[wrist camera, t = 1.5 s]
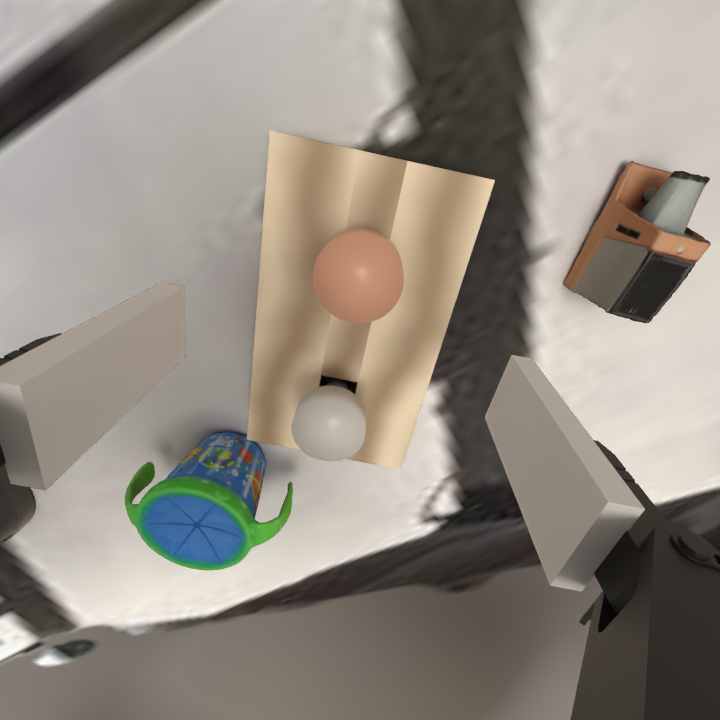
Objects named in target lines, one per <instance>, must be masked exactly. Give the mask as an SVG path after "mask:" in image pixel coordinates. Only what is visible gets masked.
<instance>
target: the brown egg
mask: <svg viewBox="0 0 720 720" xmlns="http://www.w3.org/2000/svg"><path fill="white" fill-rule="evenodd" d="M403 285H404V273H403V267H402V262H401V258H400V255H399V253H398V251H397V249H396V247H395V246H394V244H393V243H392V242H391V241H390V240H389V239H388V238H387V237H385V236H384V235H383V234H381V233H379V232H377V231H375V230H371V229H367V228H352V229H348V230H345V231H343V232H340V233H339V234H337V235H335V236H334V237H333V238H332V239H331V240H330V241H329V242H328V243H327V244H326V246H325V247H324V248H323V250H322V251H321V252H320V254H319V256H318V257H317V259H316V262H315V265H314V269H313V286H314V290H315V293H316V296H317V298H318V300H319V301H320V303H321V304H322V306H323V307H324V308H325V309H326V310H327V311H328V312H329V313H330V314H332V315H333V316H335V317H336V318H338V319H340V320H343V321H346V322H350V323H368V322H372V321H375V320H378V319H380V318H382V317H383V316H385V315H386V314H388V313H389V312H390V311H391V310H392V309H393V308H394V306H395V305H396V304H397V302H398V300H399V298H400V296H401V293H402V290H403Z"/></svg>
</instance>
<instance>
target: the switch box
mask: <svg viewBox="0 0 720 720" xmlns="http://www.w3.org/2000/svg"><path fill="white" fill-rule="evenodd" d="M494 182H495V180H491V179H487V178H482V177H478V176H473V175H469V174H464V173H460V172H455V171H451V170H446V169H442V168H437V167H433V166H428V165H424V164H419V163H414V162H410V161H405V160H401V159H396V158H392V157H387V156H383V155H378V154H374V153H369V152H365V151H360V150H356V149H351V148H347V147H342V146H338V145H333V144H329V143H324V142H320V141H315V140H311V139H306V138H302V137H297V136H293V135H288V134H284V133H279V132H275V131H270V134H269V148H268V161H267V175H266V188H265V202H264V215H263V228H262V242H261V255H260V269H259V282H258V295H257V309H256V322H255V336H254V349H253V362H252V376H251V389H250V403H249V416H248V429H247V440H251V441H256V442H261V443H266V444H271V445H277V446H282V447H287V448H292V449H297V450H301V449H300V448H299V447H298V445H297V444H296V443H295V441H294V439H293V436H292V431H291V425H292V421H293V418H294V415H295V413H296V410H297V407H298V405H299V402H300V400H301V399H302V397H303V396H304V395H305V394H306V393H308V392H309V391H311V390H312V389H315V388H317V387H321V386H326V384H327V381H328V379H329V378H330V377H333V378H338V379H343V380H348V381H349V382H350V390H349V391H351V392H352V393H354V394H355V395H356V396H357V397H358V398H359V399H360V400H361V402H362V403H363V405H364V407H365V410H366V415H367V417H366V432H365V440H364V443H363V445H362V446H361V448H360V449H359V450H358V451H357V452H356V453H355V454H354V455H352V456H350V457H348V458H346V459H349V460H354V461H360V462H365V463H370V464H375V465H380V466H386V467H391V468H396V469H401V468H402V465H403V462H404V459H405V456H406V452H407V449H408V446H409V443H410V440H411V437H412V434H413V431H414V428H415V425H416V422H417V419H418V416H419V412H420V409H421V406H422V403H423V400H424V397H425V394H426V391H427V388H428V385H429V382H430V379H431V376H432V372H433V369H434V366H435V363H436V360H437V357H438V354H439V351H440V348H441V345H442V342H443V339H444V336H445V332H446V329H447V326H448V323H449V320H450V317H451V314H452V311H453V308H454V305H455V302H456V299H457V296H458V292H459V289H460V286H461V283H462V280H463V277H464V274H465V271H466V268H467V265H468V262H469V259H470V256H471V252H472V249H473V246H474V243H475V240H476V237H477V234H478V231H479V228H480V225H481V222H482V219H483V216H484V212H485V209H486V206H487V203H488V200H489V197H490V194H491V191H492V188H493V185H494ZM352 228H367V229H371V230H375V231H377V232H379V233H381V234H383V235H384V236H385V237H387V238H388V239H389V240H390V241H391V242H392V243H393V244H394V246H395V247H396V249H397V251H398V253H399V255H400V258H401V262H402V267H403V273H404V285H403V290H402V293H401V296H400V298H399V300H398V302H397V304H396V305H395V306H394V308H393V309H392V310H391V311H390V312H389V313H388V314H386V315H385V316H383V317H382V318H380V319H378V320H375V321H372V322H368V323H350V322H346V321H343V320H340V319H338V318H336V317H335V316H333V315H332V314H330V313H329V312H328V311H327V310H326V309H325V308H324V307H323V306H322V304H321V303H320V301H319V300H318V298H317V296H316V293H315V290H314V286H313V269H314V265H315V262H316V259H317V257H318V256H319V254H320V252H321V251H322V250H323V248H324V247H325V246H326V244H327V243H328V242H329V241H330V240H331V239H332V238H333V237H334V236H335V235H337V234H339V233H340V232H343V231H345V230H348V229H352Z"/></svg>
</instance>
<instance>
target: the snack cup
mask: <svg viewBox="0 0 720 720" xmlns="http://www.w3.org/2000/svg"><path fill="white" fill-rule="evenodd" d="M265 465H266V462H265V459H264V456H263V454H262V452H261V450H260V449H259V447H258V446H257V445H256V444H254V443H253V442H252V441H251V440H247V436H241V435H238V434H236V433H229V432H225V433H213V434H211V435H210V436H209V437H207V438H206V439H204V440H203V441H202V442H200V443H199V444H198V445H197V447H196V448H195V449H194V450H193V451H192V452H191V453H190V454H189V455H188V456H187V457H186V458H185V459H184V460H183V461H182V462H181V463H180V464H179V465H178V466H177V467H176V468H175V469H174V471H172V472H171V473H170V474H169V476H168V477H167V479H165V480H163V481H161V482H159V483H158V484H156V485H155V486H154V487H152V488H151V489H150V490H149V491H148V492H147V493H146V494H145V496H144V497H143V498H142V500H141V501H140V503H139V504H132V502H133V499H134V498H135V496H136V495H138V494H139V493H140V492H141V491H142V490H143V489H144V488H145V487H146V486H148V485H149V484H150V483H151V481H152V480H153V478H154V475H155V470H154V465H153V464H152V463H151V462H147V463H146V464H145V465H143V466H142V467H141V468H140V469H139V470H138V471H137V473H136V474H135V475H134V477H133V479H132V480H131V482H130V484H129V486H128V488H127V490H126V495H125V505H126V509H127V513H128V516H129V518H130V520H131V522H132V523H133V525H135V526H136V527H137V530H138V532H139V534H140V535H141V537H142V539H143V540H144V541H145V542H146V544H147V545H148V546H149V547H150V548H151V549H153V550H154V551H155V552H156V553H158V554H159V555H161V556H162V557H164V558H166V559H168V560H170V561H172V562H174V563H176V564H179V565H181V566H185V567H188V568H193V569H199V570H219V569H224V568H227V567H230V566H233V565H235V564H237V563H239V562H240V561H241V560H242V559H243V558H244V557H245V556H246V555H247V554H248V552H249V550H250V549H251V548H252V547H254V546H256V545H259V544H262V543H264V542H266V541H268V540H269V539H270V538H272V537H273V536H275V535H276V534H277V533H278V532H279V531H280V530H281V528H282V527H283V526H284V524H285V523H286V521H287V519H288V517H289V515H290V512H291V506H292V493H293V486H292V482H289V484H288V493H287V495H286V498H285V500H284V503H283V506H282V508H281V511H280V514H279V516H278V517H277V518H275V519H273V520H271V521H268V522H265V523H259V522H257V521H256V520H255V515H256V511H257V507H258V502H259V498H260V493H261V488H262V482H263V476H264V472H265Z"/></svg>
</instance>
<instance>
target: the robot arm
mask: <svg viewBox="0 0 720 720" xmlns="http://www.w3.org/2000/svg"><path fill="white" fill-rule="evenodd" d="M185 357H186V354H185V286H181V285H176V284H171V283H166V282H161V283H159V284H157V285H155V286H153V287H151V288H149V289H147V290H145V291H143V292H141V293H140V294H138V295H136V296H134V297H132V298H130V299H128V300H126V301H124V302H122V303H120V304H118V305H117V306H115V307H113V308H111V309H109V310H107V311H105V312H103V313H101V314H99V315H97V316H95V317H94V318H92V319H90V320H88V321H86V322H84V323H82V324H80V325H78V326H76V327H74V328H72V329H71V330H69V331H67V332H65V333H63V334H61V333H60V334H56V335H52V336H48V337H45V338H41V339H37V340H35V341H33V342H31V343H29V344H27V345H25V346H23V347H21V348H19V351H17V350H15V351H13V352H11V353H9V354H7V355H5V356H4V358H0V543H2V542H4V541H6V540H8V539H10V538H11V537H12V536H14V535H15V534H16V533H17V532H18V531H19V530H20V529H21V528H22V527H23V526H24V525H25V524H26V523H27V522H28V521H29V520H30V519H31V518H32V516H33V514H34V509H35V504H34V499H33V496H32V493H31V491H30V489H29V487H30V488H36V489H41V490H47V489H48V488H49V487H50V486H51V485H52V484H53V483H54V482H55V481H56V480H57V479H58V478H59V477H60V476H61V475H62V474H63V473H64V472H65V471H66V470H67V469H68V468H70V467H71V466H72V465H73V464H74V463H75V462H76V461H77V460H78V459H79V458H80V457H81V456H82V455H83V454H84V453H85V452H86V451H87V450H88V449H89V448H90V447H92V446H93V445H94V444H95V443H96V442H97V441H98V440H99V439H100V438H101V437H102V436H103V435H104V434H105V433H106V432H107V431H108V430H109V429H110V428H111V427H112V426H113V425H115V424H116V423H117V422H118V421H119V420H120V419H121V418H122V417H123V416H124V415H125V414H126V413H127V412H128V411H129V410H130V409H131V408H132V407H133V406H134V405H135V404H137V403H138V402H139V401H140V400H141V399H142V398H143V397H144V396H145V395H146V394H147V393H148V392H149V391H150V390H151V389H152V388H153V387H154V386H155V385H156V384H157V383H158V382H160V381H161V380H162V379H163V378H164V377H165V376H166V375H167V374H168V373H169V372H170V371H171V370H172V369H173V368H174V367H175V366H176V365H177V364H178V363H179V362H180V361H182V360H183V359H184V358H185ZM485 419H486V422H487V424H488V427H489V430H490V432H491V435H492V437H493V440H494V442H495V445H496V448H497V450H498V453H499V455H500V458H501V460H502V463H503V466H504V468H505V471H506V473H507V476H508V479H509V481H510V484H511V486H512V489H513V491H514V494H515V497H516V499H517V502H518V504H519V507H520V509H521V512H522V515H523V517H524V520H525V522H526V525H527V527H528V530H529V533H530V535H531V538H532V540H533V543H534V545H535V548H536V551H537V553H538V556H539V558H540V561H541V563H542V566H543V569H544V571H545V573H546V576H547V579H548V581H549V584H550V585H551V586H556V587H562V588H567V589H572V590H577V591H582V590H583V589H584V588H585V586H586V585H587V584H588V583H589V581H590V580H591V579H592V577H593V576H594V575H595V576H596V578H597V580H598V582H599V584H600V586H601V588H602V590H603V592H602V593H601V594H600V596H599V597H598V598H597V599H596V600H595V602H594V603H593V604H592V605H591V607H590V608H589V609H588V610H587V612H586V613H585V614H584V615H583V616H582V618H581V620H580V621H579V622H580V623H581V624H583V625H585V624H586V623H587V621H588V620H591V623H590V628H589V633H588V638H587V643H586V648H585V652H584V657H583V662H582V667H581V672H580V677H579V682H578V686H577V691H576V696H575V701H574V706H573V711H572V716H571V720H720V552H719V551H718V550H717V549H716V548H714V547H713V546H712V545H711V544H710V543H709V542H707V541H706V540H705V539H703V538H702V537H700V536H699V535H697V534H696V533H694V532H692V531H691V530H688V529H686V528H684V527H682V526H679V525H677V524H672V523H668V522H667V521H666V519H665V518H664V517H663V516H662V514H661V513H660V512H659V511H658V509H657V508H656V507H655V505H654V504H653V503H652V502H651V500H650V499H649V498H648V497H647V495H646V494H645V493H644V491H643V490H642V489H641V488H640V486H639V485H638V484H636V483H635V480H634V479H633V477H632V476H631V475H630V474H629V472H627V471H625V470H626V469H625V467H624V466H623V465H622V463H621V462H620V461H619V460H618V458H617V457H616V456H615V455H614V454H613V453H612V452H611V451H609V450H608V449H607V448H606V447H605V446H603V445H602V444H601V443H600V442H599V441H595V440H593V439H592V438H591V436H590V435H589V434H588V432H587V431H586V430H585V428H584V427H583V426H582V424H581V423H580V422H579V420H578V419H577V418H576V416H575V415H574V414H573V412H572V411H571V410H570V408H569V407H568V406H567V404H566V403H565V402H564V400H563V399H562V398H561V396H560V395H559V394H558V392H557V391H556V390H555V388H554V387H553V386H552V385H551V383H550V382H549V381H548V379H547V378H546V377H545V375H544V374H543V373H542V371H541V370H540V369H539V367H538V366H537V365H536V363H535V362H534V361H533V359H529V358H524V357H519V356H515V355H511V357H510V360H509V362H508V364H507V367H506V369H505V371H504V374H503V376H502V378H501V381H500V383H499V385H498V388H497V390H496V392H495V395H494V397H493V399H492V402H491V404H490V406H489V409H488V411H487V413H486V416H485Z"/></svg>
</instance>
